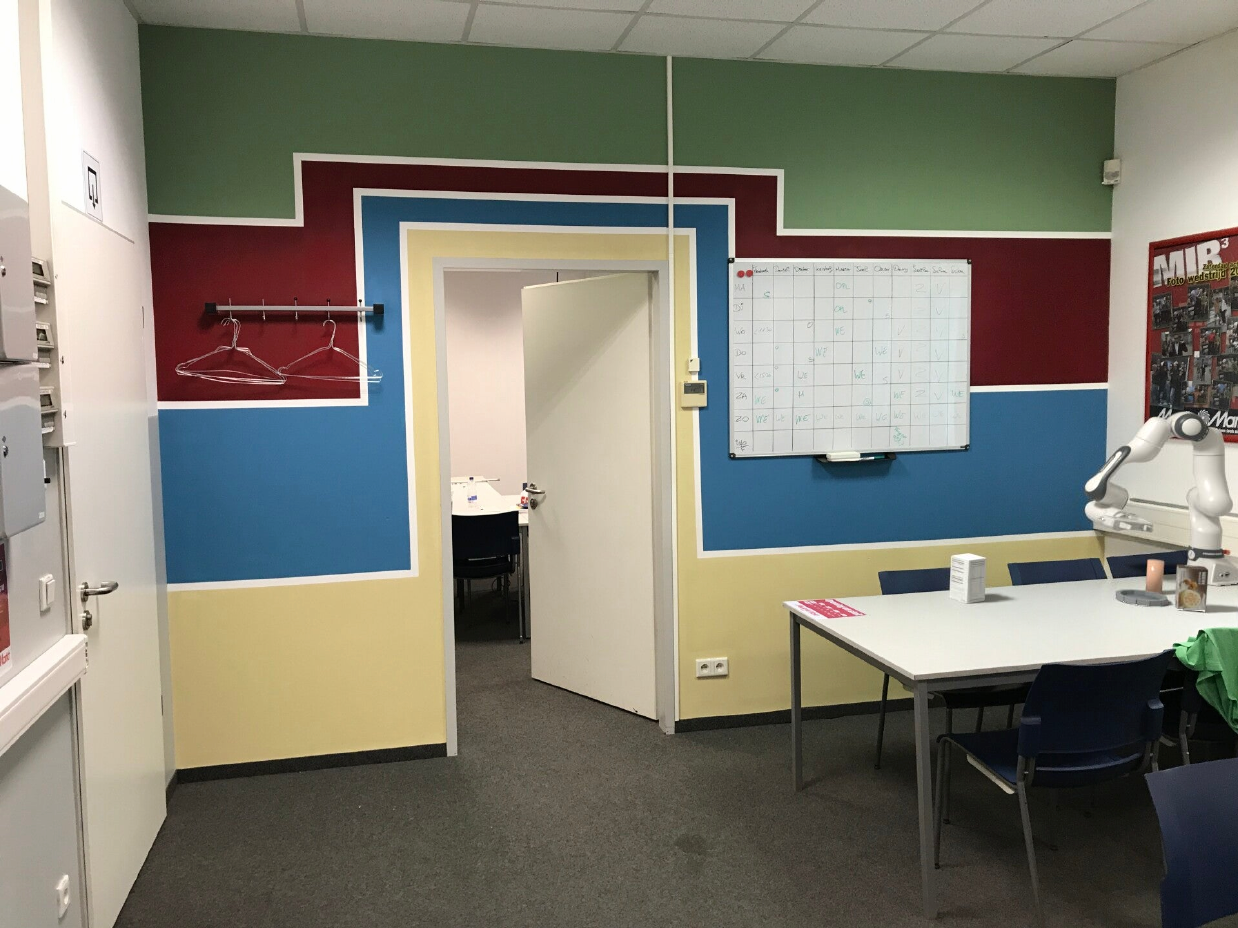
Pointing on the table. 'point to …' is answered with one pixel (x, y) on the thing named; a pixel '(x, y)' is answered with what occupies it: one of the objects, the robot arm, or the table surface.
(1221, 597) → the table surface
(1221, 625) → the table surface
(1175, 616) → the table surface
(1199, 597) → the coffee box
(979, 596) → the supplement box
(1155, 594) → the tray
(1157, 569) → the peach cylinder
